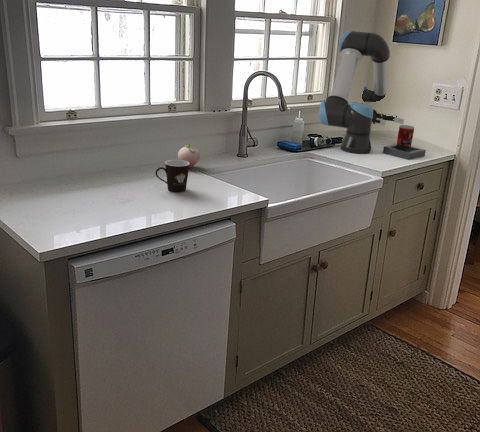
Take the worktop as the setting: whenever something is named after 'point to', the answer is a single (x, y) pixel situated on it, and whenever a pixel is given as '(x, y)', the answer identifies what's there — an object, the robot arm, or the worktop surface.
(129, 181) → the worktop surface
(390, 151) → the square holder
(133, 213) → the worktop surface
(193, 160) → the decorative fruit
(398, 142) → the canned food
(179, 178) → the coffee mug
